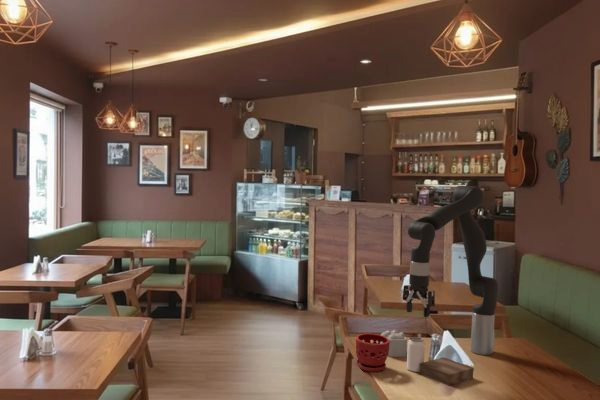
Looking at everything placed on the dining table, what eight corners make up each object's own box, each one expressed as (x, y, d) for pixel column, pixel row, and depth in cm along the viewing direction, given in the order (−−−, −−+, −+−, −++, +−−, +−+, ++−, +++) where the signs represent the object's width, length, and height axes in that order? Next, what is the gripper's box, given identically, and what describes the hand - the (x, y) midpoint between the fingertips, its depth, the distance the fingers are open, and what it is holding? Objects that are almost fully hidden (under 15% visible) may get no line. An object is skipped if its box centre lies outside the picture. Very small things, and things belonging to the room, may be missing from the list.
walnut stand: (443, 367, 213) (443, 357, 213) (472, 378, 201) (473, 367, 201) (419, 373, 204) (419, 363, 204) (449, 385, 193) (449, 374, 193)
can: (423, 373, 205) (425, 342, 205) (406, 371, 206) (408, 340, 206) (423, 367, 211) (424, 337, 211) (406, 365, 213) (408, 336, 212)
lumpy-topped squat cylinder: (385, 357, 223) (386, 336, 222) (376, 347, 235) (377, 327, 235) (409, 356, 224) (410, 336, 224) (398, 347, 237) (399, 327, 237)
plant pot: (350, 370, 205) (351, 339, 205) (361, 360, 217) (362, 331, 217) (382, 376, 200) (384, 345, 199) (392, 366, 212) (393, 336, 211)
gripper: (440, 275, 204) (438, 317, 205) (412, 269, 215) (410, 309, 216) (427, 277, 199) (425, 319, 200) (399, 271, 211) (397, 311, 212)
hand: (417, 314), depth 208 cm, fingers open, 8 cm apart
